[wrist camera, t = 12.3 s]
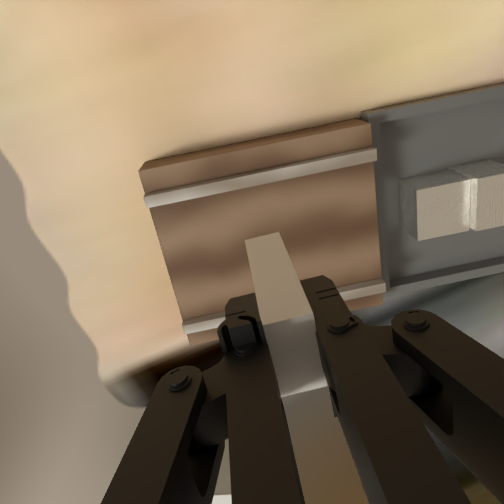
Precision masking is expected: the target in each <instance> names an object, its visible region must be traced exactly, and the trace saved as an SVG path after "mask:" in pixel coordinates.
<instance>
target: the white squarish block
mask: <svg viewBox="0 0 504 504" xmlns="http://www.w3.org/2000/svg"><path fill="white" fill-rule="evenodd" d="M398 186H399V210H400V227H401V228H402V229H403V230H405V231H406V232H407V233H408V234H410V235H411V236H412V237H413V238H414V239H416V240H417V241H421V240H426V239H431V238H436V237H440V236H445V235H450V234H455V233H460V232H465V231H469V221H470V187H471V179H468V178H466V177H464V176H461V175H459V174H456V173H454V172H451V171H449V170H446V171H441V172H436V173H431V174H426V175H421V176H416V177H411V178H406V179H401V180H398Z"/></svg>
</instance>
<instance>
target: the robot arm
mask: <svg viewBox="0 0 504 504" xmlns="http://www.w3.org/2000/svg"><path fill="white" fill-rule="evenodd" d="M245 245H246V250H247V255H248V260H249V265H250V269H251V274H252V279H253V284H254V289H255V293H251V294H247V295H243V296H238V297H234V298H230V299H229V301H228V302H227V304H226V306H225V316H226V317H225V320H224V321H223V322H222V323H221V324H220V325H219V326H218V329H217V334H218V337H219V340H220V344H221V347H222V350H223V353H224V358H223V359H222V360H221V361H220V362H219V363H218V364H216V365H215V366H213V367H211V368H210V369H208V370H206V371H204V372H202V373H201V371H200V370H199V369H198V368H196V367H194V366H182V367H178V368H175V369H173V370H171V371H169V372H168V373H167V374H165V375H164V376H163V377H162V378H161V379H160V381H159V382H158V384H157V386H156V388H155V390H154V392H153V394H152V396H151V399H150V401H149V403H148V405H147V407H146V409H145V411H144V414H143V416H142V418H141V420H140V422H139V424H138V426H137V428H136V431H135V433H134V435H133V437H132V439H131V441H130V443H129V445H128V447H127V449H126V451H125V454H124V456H123V458H122V460H121V462H120V464H119V466H118V468H117V470H116V473H115V475H114V477H113V479H112V481H111V483H110V485H109V488H108V489H107V492H106V494H105V496H104V498H103V500H102V502H101V504H212V501H213V497H214V492H215V488H216V484H217V479H218V475H219V471H220V466H221V462H222V458H223V454H224V449H225V440H226V439H228V442H229V461H230V480H231V499H232V504H305V501H304V496H303V492H302V487H301V483H300V478H299V474H298V469H297V465H296V461H295V456H294V451H293V447H292V443H291V438H290V433H289V429H288V424H287V420H286V415H285V411H284V407H283V403H282V399H281V397H284V396H288V395H293V394H297V393H301V392H305V391H309V390H313V389H318V388H322V387H325V386H327V382H328V385H329V390H330V396H331V401H332V406H333V411H334V416H335V417H337V416H338V419H339V422H340V424H341V427H342V430H343V432H344V435H345V438H346V441H347V444H348V446H349V449H350V452H351V455H352V457H353V460H354V463H355V466H356V468H357V471H358V474H359V477H360V479H361V482H362V485H363V488H364V490H365V493H366V496H367V499H368V501H369V504H471V503H470V501H469V499H468V498H467V496H466V494H465V492H464V491H463V489H462V487H461V486H460V484H459V482H458V481H457V479H456V477H455V476H454V474H453V472H452V471H451V469H450V467H449V466H448V464H447V462H446V461H445V459H444V457H443V456H442V454H441V452H440V451H439V449H438V447H437V446H436V444H435V442H434V441H433V439H432V437H431V436H430V434H429V432H428V431H427V429H426V427H427V428H428V429H429V430H430V431H431V432H432V433H433V434H434V435H435V436H436V437H437V438H438V439H439V440H440V441H441V442H442V443H443V444H444V445H445V446H446V447H447V448H448V449H449V450H450V451H451V452H452V453H453V454H454V455H455V456H456V457H457V458H458V460H459V461H460V462H461V463H462V464H463V465H464V466H465V467H466V468H467V469H468V470H469V471H470V472H471V473H472V474H473V475H474V476H475V477H476V478H477V479H478V480H479V481H480V482H481V483H482V484H483V485H484V486H485V487H486V488H487V489H488V490H489V491H490V492H491V493H492V494H493V495H494V496H495V497H496V498H497V499H498V500H499V501H500V502H501V503H502V504H504V359H503V358H501V357H500V356H498V355H497V354H495V353H494V352H492V351H491V350H489V349H488V348H486V347H485V346H483V345H482V344H480V343H478V342H477V341H475V340H474V339H472V338H471V337H469V336H468V335H466V334H465V333H463V332H462V331H460V330H459V329H457V328H456V327H454V326H452V325H451V324H449V323H448V322H446V321H445V320H443V319H442V318H440V317H439V316H437V315H436V314H433V313H431V312H429V311H425V310H407V311H403V312H400V313H399V314H397V315H395V316H394V318H393V319H392V321H391V324H392V326H371V325H366V324H363V322H362V320H361V319H360V318H358V317H357V316H355V315H352V314H351V312H350V311H349V309H348V307H347V305H346V304H345V302H344V300H343V298H342V297H341V295H340V293H339V292H338V290H337V289H336V286H335V285H334V283H333V281H332V280H331V279H329V278H327V277H325V276H324V275H320V276H316V277H312V278H308V279H304V280H300V281H299V278H298V276H297V274H296V271H295V269H294V267H293V264H292V262H291V260H290V257H289V255H288V252H287V250H286V248H285V245H284V243H283V241H282V238H281V236H280V234H279V232H276V233H272V234H268V235H264V236H260V237H256V238H251V239H247V240H245ZM326 380H327V382H326ZM424 425H425V426H426V427H425V426H424Z"/></svg>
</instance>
